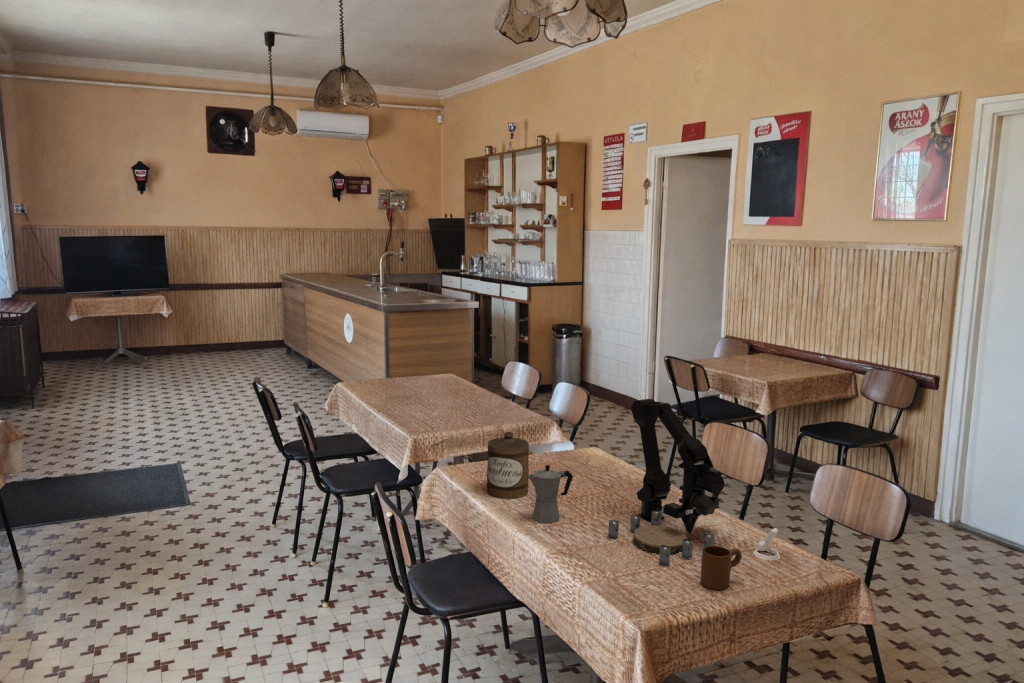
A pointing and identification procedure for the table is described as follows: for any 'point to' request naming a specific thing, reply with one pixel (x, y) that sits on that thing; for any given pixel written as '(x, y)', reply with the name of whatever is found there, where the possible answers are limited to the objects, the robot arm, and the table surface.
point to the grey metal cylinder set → (664, 549)
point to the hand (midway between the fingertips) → (689, 532)
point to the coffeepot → (548, 493)
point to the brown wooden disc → (658, 538)
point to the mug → (718, 566)
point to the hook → (767, 546)
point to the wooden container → (508, 467)
